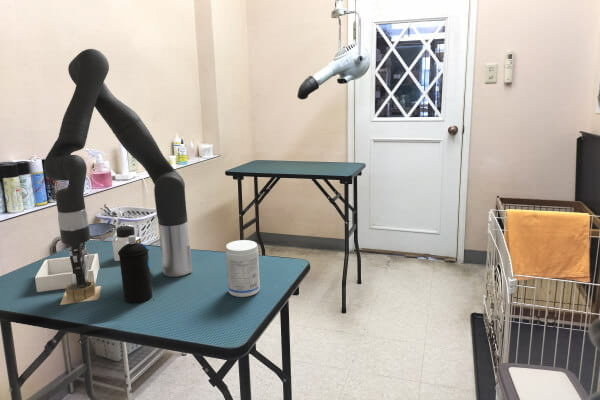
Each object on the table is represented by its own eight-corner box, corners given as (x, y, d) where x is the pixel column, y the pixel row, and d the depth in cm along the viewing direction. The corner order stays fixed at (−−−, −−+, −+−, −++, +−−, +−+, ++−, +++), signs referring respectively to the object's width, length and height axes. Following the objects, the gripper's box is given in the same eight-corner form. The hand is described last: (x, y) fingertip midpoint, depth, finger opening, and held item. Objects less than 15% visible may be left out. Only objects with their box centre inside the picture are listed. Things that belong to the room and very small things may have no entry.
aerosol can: (137, 311, 132) (129, 242, 128) (117, 305, 137) (109, 238, 132) (160, 300, 139) (153, 234, 134) (141, 294, 143) (134, 230, 139)
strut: (73, 287, 142) (76, 244, 139) (89, 289, 142) (92, 246, 139) (67, 294, 137) (70, 249, 134) (84, 296, 138) (87, 251, 135)
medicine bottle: (132, 262, 170) (128, 229, 167) (114, 261, 171) (110, 229, 168) (142, 255, 176) (139, 223, 174) (125, 254, 178) (121, 223, 175)
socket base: (101, 290, 147) (100, 276, 146) (99, 304, 137) (97, 289, 136) (66, 295, 144) (64, 281, 143) (60, 309, 135) (58, 294, 134)
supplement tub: (230, 284, 149) (227, 239, 145) (261, 284, 148) (259, 239, 145) (225, 298, 139) (222, 250, 136) (258, 298, 139) (256, 250, 135)
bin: (99, 270, 163) (97, 253, 161) (95, 288, 148) (93, 270, 147) (47, 276, 158) (45, 259, 157) (37, 296, 143) (34, 277, 142)
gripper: (63, 219, 140) (71, 273, 145) (55, 234, 127) (64, 293, 131) (90, 216, 142) (98, 270, 147) (86, 231, 129) (94, 289, 134)
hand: (82, 280), depth 139 cm, fingers closed on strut, 4 cm apart
